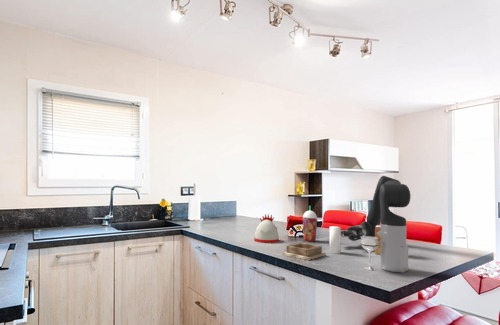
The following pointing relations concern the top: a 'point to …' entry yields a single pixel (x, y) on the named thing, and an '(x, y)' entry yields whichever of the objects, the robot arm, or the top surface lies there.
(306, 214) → the smoothie
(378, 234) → the small box
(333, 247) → the paper roll
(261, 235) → the kitchen timer
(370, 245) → the wineglass
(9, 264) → the top surface
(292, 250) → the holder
